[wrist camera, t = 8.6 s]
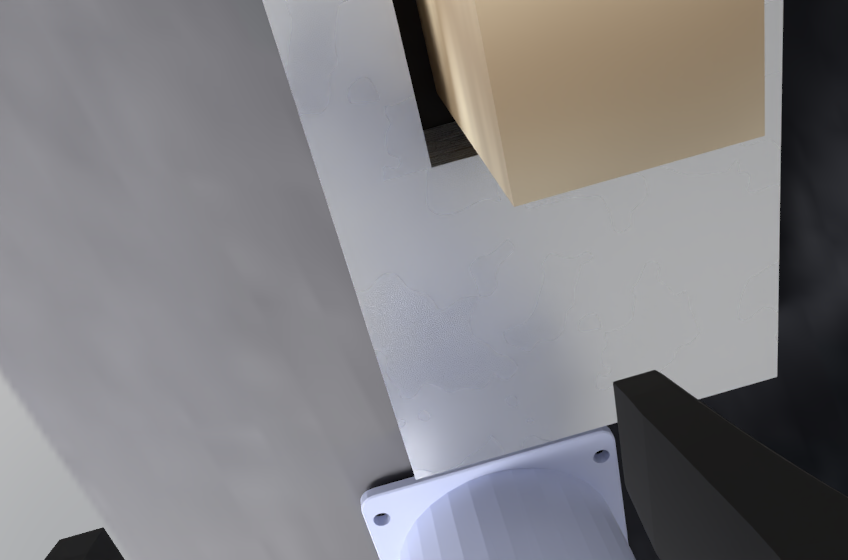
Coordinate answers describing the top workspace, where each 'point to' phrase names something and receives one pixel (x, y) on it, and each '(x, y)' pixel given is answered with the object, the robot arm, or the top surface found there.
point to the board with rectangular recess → (528, 254)
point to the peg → (595, 84)
